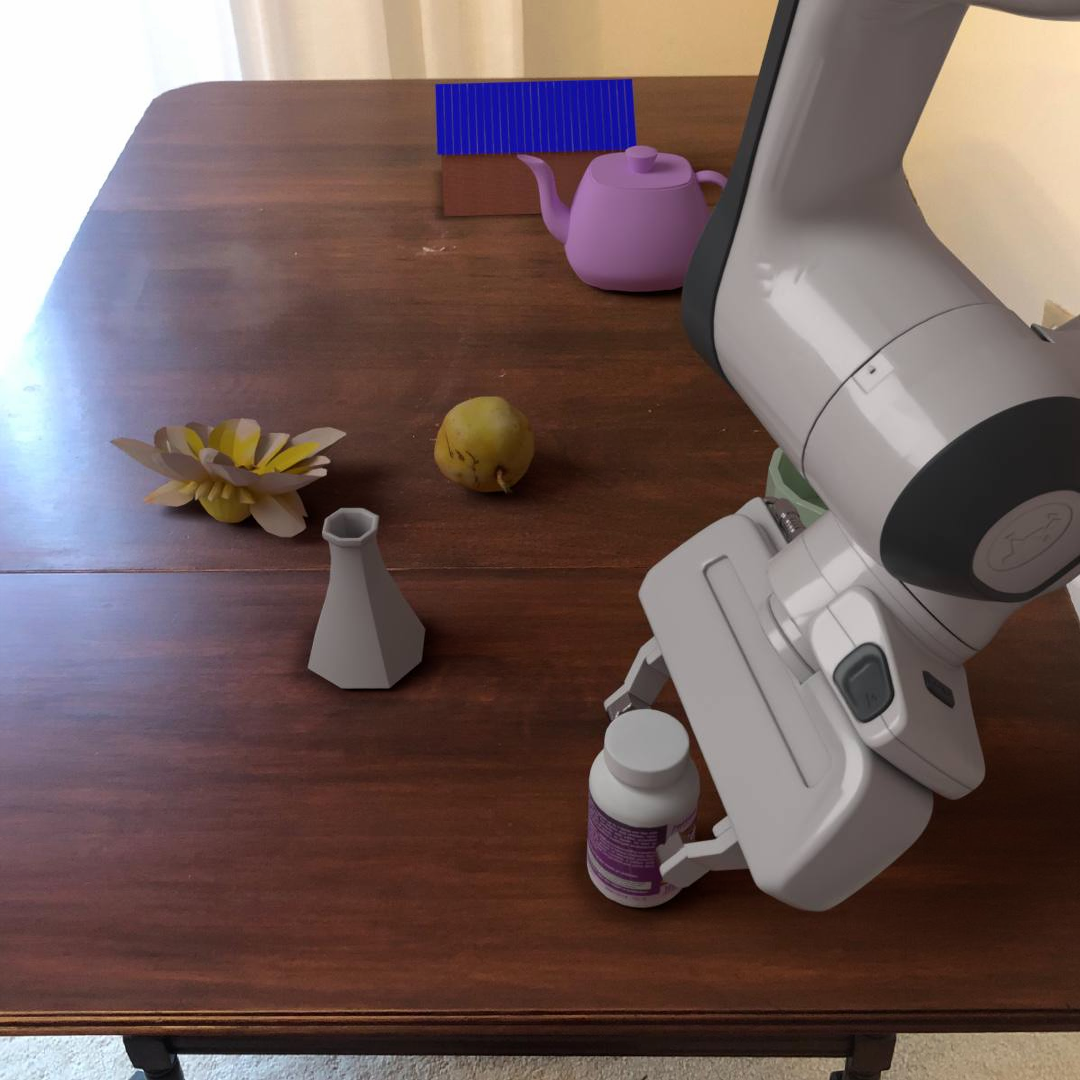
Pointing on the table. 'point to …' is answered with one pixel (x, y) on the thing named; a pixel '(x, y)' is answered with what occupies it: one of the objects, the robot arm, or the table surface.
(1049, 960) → the table surface
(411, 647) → the flask
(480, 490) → the fruit
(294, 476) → the decorative flower
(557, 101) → the house
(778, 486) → the crock
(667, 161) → the teapot
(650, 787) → the pill bottle
